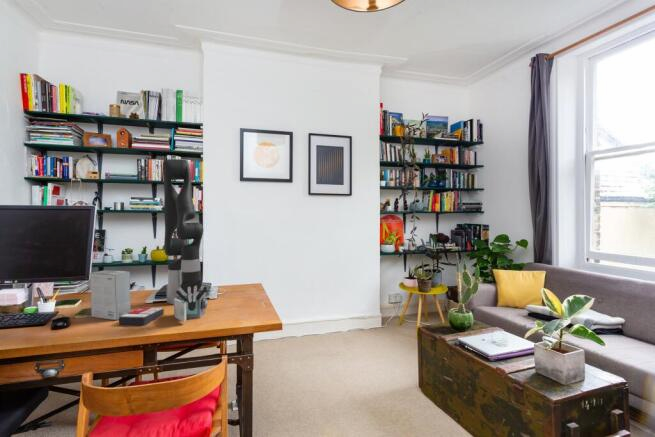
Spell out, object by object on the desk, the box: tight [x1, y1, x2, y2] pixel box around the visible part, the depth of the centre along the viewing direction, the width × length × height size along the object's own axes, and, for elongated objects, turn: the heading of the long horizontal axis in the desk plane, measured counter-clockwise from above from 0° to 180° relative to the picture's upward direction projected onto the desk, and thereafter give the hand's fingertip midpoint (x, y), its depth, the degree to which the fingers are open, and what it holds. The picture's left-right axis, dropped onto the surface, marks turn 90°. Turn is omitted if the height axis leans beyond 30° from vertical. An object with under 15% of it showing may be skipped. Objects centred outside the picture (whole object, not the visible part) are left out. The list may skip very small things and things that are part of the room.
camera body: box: [173, 291, 209, 319], centre depth 151 cm, size 13×8×11 cm, turn 91°
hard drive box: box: [89, 269, 132, 321], centre depth 151 cm, size 16×8×20 cm, turn 71°
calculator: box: [118, 306, 165, 327], centre depth 147 cm, size 11×4×15 cm
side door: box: [174, 299, 187, 323], centre depth 143 cm, size 9×2×8 cm, turn 47°
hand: (192, 310), depth 143 cm, fingers closed
